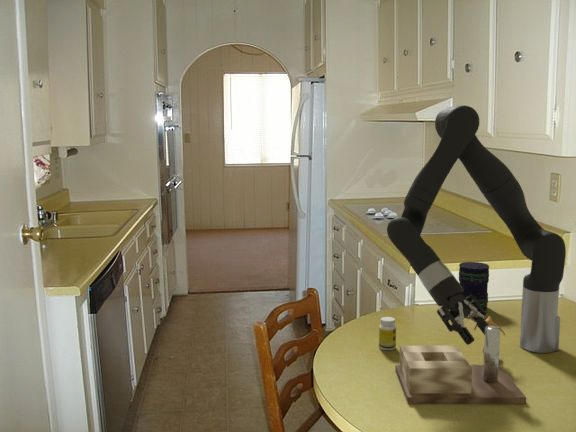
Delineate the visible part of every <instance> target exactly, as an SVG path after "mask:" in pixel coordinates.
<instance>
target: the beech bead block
mask: <svg viewBox="0 0 576 432" xmlns="http://www.w3.org/2000/svg"><path fill="white" fill-rule="evenodd" d="M399 365H400V371H401V373H402V376H403V378H404V381H405V383H406V386H407V388H408V391H409V393H471V386H472V368H471V366H470V365H471V364H470V363H469V361H468V360H467V359H466V358H465V356H464V354H463V353H462V351H461V350H460V348H459V347H458V346H457V345H399Z"/></svg>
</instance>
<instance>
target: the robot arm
mask: <svg viewBox="0 0 576 432" xmlns="http://www.w3.org/2000/svg"><path fill="white" fill-rule="evenodd" d="M434 126H435V131H436V133H437V135H438V136H439V138H440V140H439V141H440V142H439V143H438V145H437V147H436V149H435V151H434V152H433V153H432V155H431V157H430V158H429V160H428V161H427V162H426V163H425V164H424V166H423V167H422V168H421V169H420V171H419V172H418V174H417V175H416V176H415V178H414V180H413V181H412V184H411V185H410V187H409V189H408V191H407V194H406V195H405V198H404V200H403V207H404V209H403V211H402V213H401V215H400V216H396V217H394V218H392V219H391V220H390V221H389V222H388V224H387V228H386V233H387V236H388V239H389V240H390V242H391V243H392V244H393V245H394V246H395V248H396V249H397V250H398V251H399V253H400V254H401V255H402V256H403V257H404V258H405V259H406V260H407V262H408V264H410V267H411V268H412V270H413V271H414V273H415V274H416V275H417V277H418V278H419V280H420V282H421V283H422V286H423V287H424V288H425V290H426V291H427V292H428V294H429V295H430V296H431V298H432V299H433V301H434V302H435V304H436V305H437V306H438V307H439V308H438V309H437V310H436V313H437V315H438V316H439V318H440V319H441V321H442V322H443V324H444V326H445V327H446V329H447V330H448V332H451V333H452V332H456V333H458V335H459V336H460V337H461V339H462V341H463V342H464V343H465V344H466V345H467V346H469V345H471V344H472V343H473V342H474V341H475V338H474V336H473V335H472V334H471V332H470V331H469V329H468V328H467V327H466V326H465V323H464V319H467V320H471V321H473V322H474V323H475V324H476V323H477V328H479V330H480V331H481V333H482V334H483V335H484V336H485V327H486V326H489V325H488V324H487V322H486V321H485V320H486V319H485V316H486V315H487V312H486V311H487V310H486V311H485V310H484V309H483V308H482V306H481V305H480V304H479V303H478V301H477V300H476V299H475V298H474V296H473V295H470V296H468V297H467V298H465V297H464V296H463V295H462V292H463V288H462V286H461V285H460V284H459V280H457V278H456V277H455V276H454V274H453V273H452V272H451V270H450V268H448V266H447V265H446V264H445V263H444V262H443V260H441V259H440V257H439V256H438V254H437V253H436V252H435V250H434V249H433V248H432V247H431V246H430V245H429V244H428V243H426V241H425V240H424V239H423V237H422V236H421V235H422V232H423V229H424V227H425V223H426V221H427V216H428V214H429V212H430V209H431V208H432V206H433V204H434V202H435V200H436V198H437V196H438V194H439V192H440V190H441V189H442V186H443V184H444V183H445V182H446V181H445V180H446V178H447V177H448V176H449V174H450V172H451V170H452V169H453V167H454V165H455V164H456V162H457V161H458V160H459V161H460V162H461V164H462V165H463V167H464V168H465V170H466V171H467V173H468V174H469V176H470V178H471V179H472V180H473V181H474V182H473V183H475V185H476V186H477V188H478V190H479V191H480V192H481V194H482V195H483V197H484V198H485V199H486V201H487V202H488V204H489V205H490V206H491V207H492V210H494V211H495V213H496V214H497V215H498V217H499V218H500V220H502V221H503V223H504V224H505V225H506V227H507V228H508V230H509V232H510V233H511V236H512V237H513V239H514V240H515V242H516V245H517V246H518V248H519V250H520V251H521V253H522V254H523V256H524V257H526V259H527V260H529V261H531V266H530V273H528V274H526V275H524V276H523V279H522V280H523V281H522V296H521V297H522V298H521V300H522V301H521V302H522V303H521V314H520V315H521V318H520V335H519V336H520V337H519V346H520V347H521V348H522V349H524V350H526V351H528V352H534V353H539V354H546V353H547V354H548V353H549V354H550V353H553V352H558V351H559V348H560V346H559V345H560V335H561V334H560V330H561V329H560V328H561V317H560V316H559V315H558V313H559V312H558V311H559V298H560V297H559V294H560V284H561V283H562V280H563V278H564V272H565V266H566V255H567V251H566V248H567V247H566V242H565V240H564V239H563V238H562V236H560V235H559V234H558V233H556V232H552V231H550V230H546V229H545V228H543V227H542V226H541V225H540V224H539V223H538V222H537V220H536V219H535V217H534V216H533V215H532V213H531V212H530V211H529V208H528V205H527V201H526V197H525V193H524V190H523V188H522V185H520V183H519V181H518V180H517V178H516V177H515V175H514V174H513V172H512V171H511V169H509V167H508V166H507V165H506V164H505V163H504V162H502V160H501V159H499V158H498V157H497V155H495V154H493V153H492V152H491V151H490V150H489V149H487V147H486V146H484V145H483V143H482V142H481V141H480V139H479V137H477V135H476V134H477V132H478V130H479V127H480V116H479V114H478V112H477V110H475V109H474V107H471V106H468V105H454V106H453V105H452V106H449V107H445V108H443V109H442V110H440V111H439V112H438V113H437V114H436V117H435V119H434ZM477 308H478V309H479V310H480V312H478V311H477ZM450 323H451V324H450Z"/></svg>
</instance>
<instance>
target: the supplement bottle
mask: <svg viewBox="0 0 576 432" xmlns="http://www.w3.org/2000/svg"><path fill="white" fill-rule="evenodd" d="M378 330H379V331H378V348H379V349H380V350H383V351H393V350H395V349H396V346H397V327H396V319H395V318H394V317H391V316H383V317H380V324H379V327H378Z"/></svg>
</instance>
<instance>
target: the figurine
mask: <svg viewBox="0 0 576 432" xmlns="http://www.w3.org/2000/svg"><path fill="white" fill-rule="evenodd" d="M484 320H485V321H486V322H487V324H488V325H489V326H496V327H499V328H500V333H502V334H503V335H504V337H507V336H506V333H505V332H504V330H503V329H502V327H501V326H499V325H498V324H497V323H495V322H494V321H493V320H492V316H490V315H489V316H488V317H487V318H486V319H484ZM477 328H478V326H477V323H476V322H475V326H474V328H473V331H477ZM482 353H483V354H484V345H483V347H482Z"/></svg>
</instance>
